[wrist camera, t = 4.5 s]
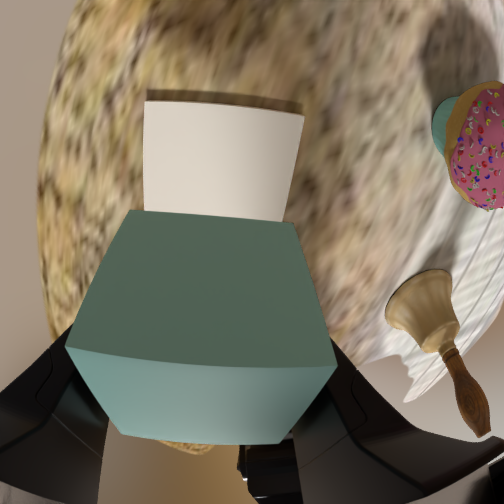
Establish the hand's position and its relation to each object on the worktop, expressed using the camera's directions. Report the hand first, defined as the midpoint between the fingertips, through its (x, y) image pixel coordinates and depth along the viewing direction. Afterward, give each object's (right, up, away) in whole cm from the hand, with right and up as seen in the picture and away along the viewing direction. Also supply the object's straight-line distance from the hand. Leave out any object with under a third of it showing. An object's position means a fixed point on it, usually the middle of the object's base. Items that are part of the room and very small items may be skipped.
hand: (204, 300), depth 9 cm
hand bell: (+19, -3, +17) cm, 26 cm away
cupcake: (+16, +11, +7) cm, 21 cm away
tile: (-1, +6, +8) cm, 10 cm away
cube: (0, +1, +1) cm, 1 cm away
